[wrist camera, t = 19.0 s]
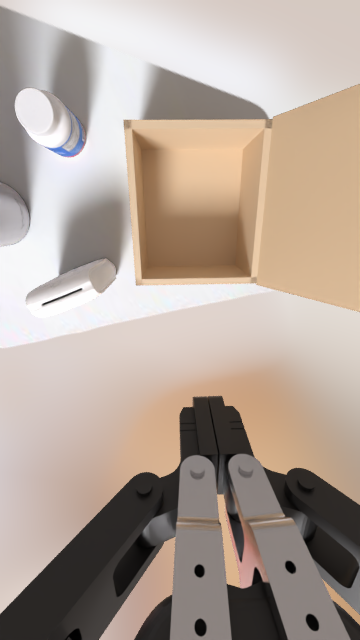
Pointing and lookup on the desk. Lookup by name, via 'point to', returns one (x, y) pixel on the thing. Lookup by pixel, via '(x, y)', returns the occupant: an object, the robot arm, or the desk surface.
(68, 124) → the pill bottle
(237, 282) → the carton
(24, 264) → the desk surface
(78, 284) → the photo printer
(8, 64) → the desk surface
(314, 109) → the carton lid
